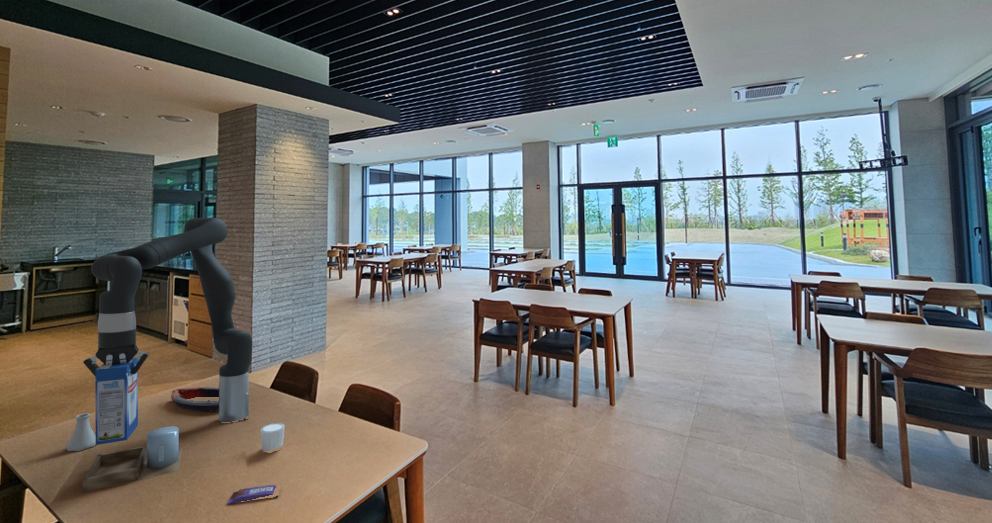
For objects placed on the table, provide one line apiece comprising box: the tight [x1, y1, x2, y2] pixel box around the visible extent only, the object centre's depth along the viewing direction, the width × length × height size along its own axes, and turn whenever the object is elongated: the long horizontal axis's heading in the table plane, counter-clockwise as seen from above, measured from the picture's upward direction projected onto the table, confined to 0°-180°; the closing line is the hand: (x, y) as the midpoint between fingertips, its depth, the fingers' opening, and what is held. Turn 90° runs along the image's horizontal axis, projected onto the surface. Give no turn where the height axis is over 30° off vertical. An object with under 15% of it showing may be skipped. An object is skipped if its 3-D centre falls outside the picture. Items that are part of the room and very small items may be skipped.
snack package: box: [226, 484, 277, 505], centre depth 104 cm, size 12×2×5 cm
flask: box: [65, 412, 97, 452], centre depth 126 cm, size 7×7×10 cm
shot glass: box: [260, 422, 286, 451], centre depth 127 cm, size 7×7×7 cm
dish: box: [170, 386, 219, 412], centre depth 161 cm, size 16×31×5 cm, turn 71°
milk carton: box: [94, 357, 139, 446], centre depth 109 cm, size 10×6×20 cm, turn 29°
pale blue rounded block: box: [146, 426, 180, 469], centre depth 115 cm, size 7×8×9 cm
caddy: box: [82, 445, 184, 493], centre depth 112 cm, size 19×15×4 cm
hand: (117, 390), depth 109 cm, fingers closed
